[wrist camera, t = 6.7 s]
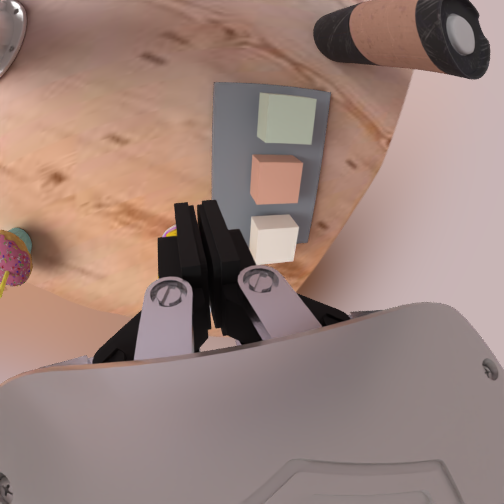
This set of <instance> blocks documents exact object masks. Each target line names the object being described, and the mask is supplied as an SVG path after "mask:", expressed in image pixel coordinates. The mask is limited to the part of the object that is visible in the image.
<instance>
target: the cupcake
mask: <svg viewBox="0 0 504 504" xmlns="http://www.w3.org/2000/svg"><path fill="white" fill-rule="evenodd" d="M31 249H32V242H31V239H30V237H29V235H28V234H27V233H26V232H25V231H24V230H22V229H20V228H13V229H11V230H9V231H4V230H0V282H2V283H1V285H0V298H1V297H2V294H3V290H4V287H5V284H6V285H10V286H17V285H21V284H23V283H25V282H26V280H27V279H28V278H29V276H30V274H31V271H32V268H33V265H32V257H31Z"/></svg>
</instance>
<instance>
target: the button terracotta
mask: <svg viewBox="0 0 504 504" xmlns="http://www.w3.org/2000/svg"><path fill="white" fill-rule="evenodd" d="M302 168H303V163H302V162H301V161H300V160H298V159H297V158H296V157H294V156H293V155H262V154H252V168H251V184H250V194H251V196H252V198H253V199H254V201H255V203H256V204H257V205H261V204H286V203H298V197H299V190H300V183H301V176H302Z"/></svg>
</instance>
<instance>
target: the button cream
mask: <svg viewBox="0 0 504 504" xmlns="http://www.w3.org/2000/svg"><path fill="white" fill-rule="evenodd" d="M298 231H299V226H298V225H297V224H296V222H295V221H294V220H293V218H292V217H291V216H290V215H289V214H288V215H268V216H251V230H250V245H249V250H250V252H251V254H252V256H253V258H254V261H255V263H256V265H262V264H271V263H281V262H290V261H293V259H294V254H295V248H296V242H297V236H298Z"/></svg>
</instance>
